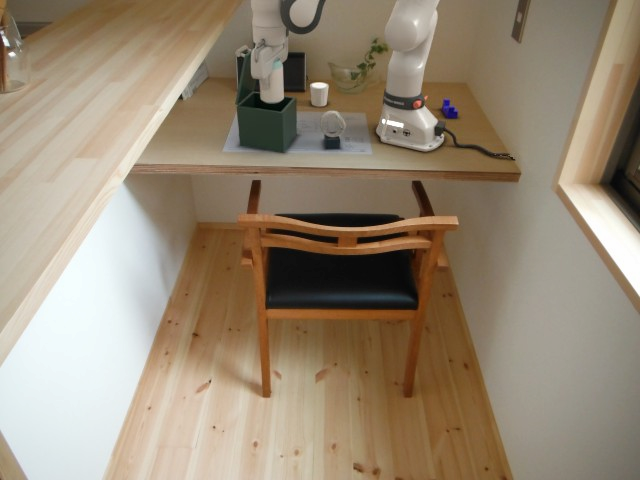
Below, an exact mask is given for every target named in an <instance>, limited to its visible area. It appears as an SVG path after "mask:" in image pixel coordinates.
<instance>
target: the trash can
mask: <svg viewBox="0 0 640 480" xmlns="http://www.w3.org/2000/svg"><path fill="white" fill-rule="evenodd" d="M297 102H298V101H297V97H295V96H290V95H289V96H287V95H284V99H283V100H282V101H280V102H279V103H274V104H270V103H265V102H264V101H262V100H261V98H260V91H253V92H252V93H251V94H250V95H248V96H247V97H246V98H245V99H244V100H243V101H242V102H241V103H239V104H238V105H235V106H236V107H235V108H236V117H237V127H238V137H239V146H242V147H246V148H247V147H248V148H253V149H259V150H266V151H271V152H277V153H285V152H286V151H287V149H288V148H289V146H290V145H291V144H292V143H293V141H294V140H295V139H296V137H297V135H298V112H297V111H298V110H297V109H298V107H297V105H298V104H297Z"/></svg>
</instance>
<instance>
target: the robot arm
mask: <svg viewBox="0 0 640 480" xmlns="http://www.w3.org/2000/svg"><path fill="white" fill-rule="evenodd" d="M326 1H327V0H250V7H251V10H252V21H251V24H252V25H251V26H252V40H253V43H254V47H253V48H252V49H253V50H252V49H251V50H252V53H251V75H252V77H253V78H254V79H257V80H259V79H260V82H261V84H262V90H266V91H267V90H268V89H269V88H270V87H269V83H268V80H267V79H268V75H269V74H271V73H272V68H273V62H275V61H277V60H278V58H280V61H281V63H282V64H283V63H284V62H285V61H286V60H288V57H289V56H288V55H289V36H290V35H291V33H293V34H295V35H300V36H301V35H302V36H303V35H307V34H309V33H311V32H313V31H314V30H315V29H316V28H317V27H318V25H319V23H320V21H321V17H322V14H323V9H324V5H325V3H326ZM440 1H441V0H396V2H395V4H394V7H393V9H392V12H391V14H390V16H389V19H388V21H387V22H386V25H385V27H384V32H383V33H384V34H383V35H384V40H385V43H386V45H387V46H388V47H389V48H390V49H391V50H392V54H391V57H390V59H389V62H388V64H387V65H388V66H387V73H386V74H387V75H386V82H385V83H386V84H385V88H384V89H383V95H382V97H383V98H382V110H381V114H380V119H379V121H378V124H377V127H376V129H375V132H376V134H377V136H379V137H380V141H381V142H382V143H385V144H389V145H393V146H398V147H403V148H405V149H411V150H414V151H420V152H424V153H425V152H431V151H433V150H434V151H435V149H437V148H438V147H440V146H441V145H442V144H443V143H444V141H445V134H443V133H444V132H445V133H447V134H449V135H450V137H452V141H453V145H454V146H456V147H457V148H462V149H464V148H465V149H468V148H471V149H478V150H479V151H481V152H483V153H485V154H486V155H488V156H491V157H506V158H507V157H508V158H510V160H512V161H515V160H514V159H513V157H510V156H508V155H510V154H511V153H508V152H492V151H490V150H488V149H486V148H484V147H482V146H481V145H477V144H472V143H470V144H469V143H468V144H460V143H458V142H457V136H456V135H455V134H454V133H453V132H452V131H451V130H449V129H448V128H447V127H446V124H447V122H446V121H443V120H438V119H437V118H436V116H435V115H434V114H433V113H432V112H431V111H430V110H429V109H428V107H426V106H425V103H426V101H427V100H428V95H426V96H424V95H423V92H422V87H423V81H424V76H425V70H426V65H427V62H428V58H429V54H430V50H431V47H432V44H433V39H434V35H435V31H436V27H437V24H438V20H439V19H438V18H439V15H438V14H439V13H438V10H437V7H438V5H439V2H440ZM495 154H496V155H495ZM500 155H502V156H500Z"/></svg>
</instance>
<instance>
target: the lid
mask: <svg viewBox="0 0 640 480" xmlns="http://www.w3.org/2000/svg"><path fill="white" fill-rule="evenodd" d="M253 49H254V48H252V49H250V48H249V46H248V45H246V44H244V45H243V46H241V47H239V48H237V49H236V50H235V51H234V55H235V56H236V57H237V58H240V57H242V58H243V63H242V67H241V72H240V78H239V83H238V88H237V93H236V97H235V103H234V105H235V106H237V105H239V104H240V103H241V102H242V101H243V100H244V99H245V98H246V97H248V96H249V95H250V94H251V93H252V92H255V87H256V83H257V80H258V79H254V78H253V77H252V75H251V53H252V50H253Z"/></svg>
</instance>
